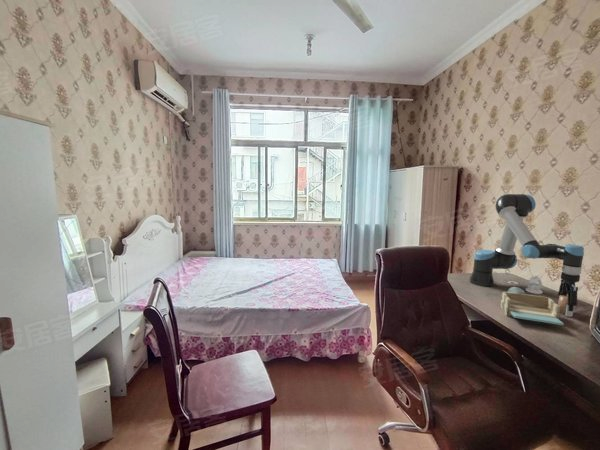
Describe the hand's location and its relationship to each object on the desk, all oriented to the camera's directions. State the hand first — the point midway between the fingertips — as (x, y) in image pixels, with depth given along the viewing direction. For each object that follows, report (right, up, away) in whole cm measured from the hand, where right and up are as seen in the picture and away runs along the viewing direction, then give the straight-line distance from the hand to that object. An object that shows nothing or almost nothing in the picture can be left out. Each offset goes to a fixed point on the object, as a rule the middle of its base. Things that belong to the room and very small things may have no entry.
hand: (564, 312), depth 163 cm
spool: (-16, +2, +16) cm, 22 cm away
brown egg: (0, 0, 0) cm, 0 cm away
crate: (-23, 0, -2) cm, 23 cm away
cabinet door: (-26, +2, -10) cm, 28 cm away
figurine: (+8, +4, +33) cm, 34 cm away
